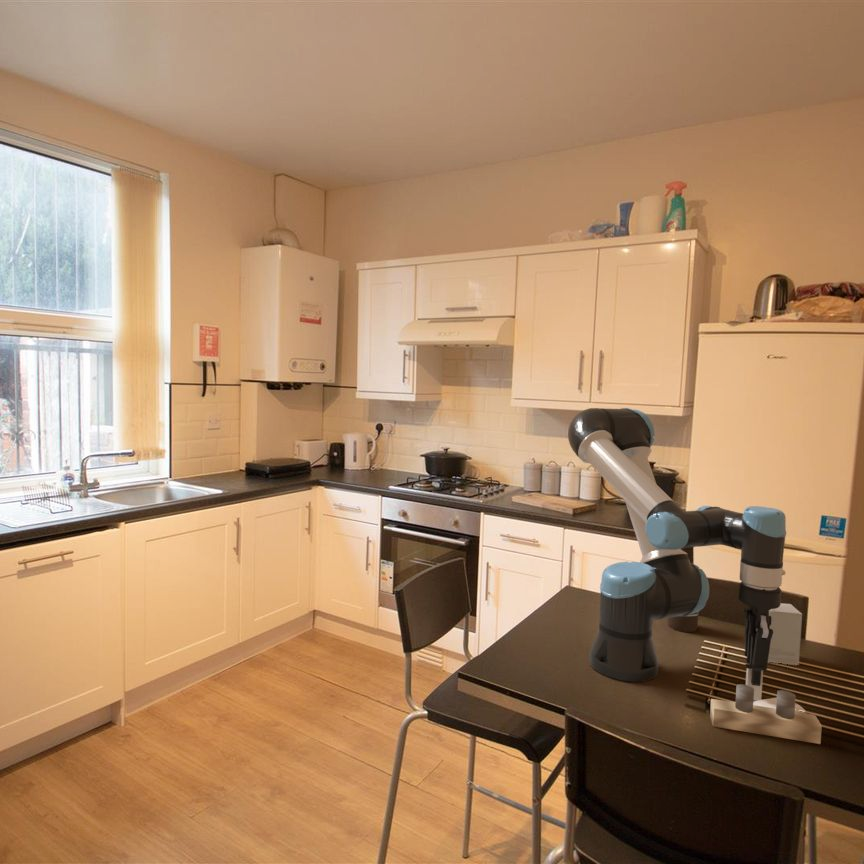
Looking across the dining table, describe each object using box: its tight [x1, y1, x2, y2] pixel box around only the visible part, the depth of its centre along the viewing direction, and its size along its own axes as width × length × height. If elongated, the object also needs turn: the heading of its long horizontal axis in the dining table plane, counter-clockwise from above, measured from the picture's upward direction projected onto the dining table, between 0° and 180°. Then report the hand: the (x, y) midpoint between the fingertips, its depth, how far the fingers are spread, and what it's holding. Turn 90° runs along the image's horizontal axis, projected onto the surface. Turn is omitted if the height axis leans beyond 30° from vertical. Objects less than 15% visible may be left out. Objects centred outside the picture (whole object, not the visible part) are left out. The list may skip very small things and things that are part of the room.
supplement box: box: [768, 602, 803, 666], centre depth 148 cm, size 7×7×13 cm
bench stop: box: [709, 683, 823, 745], centre depth 116 cm, size 18×4×8 cm, turn 74°
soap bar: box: [753, 697, 806, 713], centre depth 122 cm, size 5×9×3 cm, turn 107°
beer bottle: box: [667, 547, 700, 633], centre depth 166 cm, size 8×8×24 cm
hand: (753, 697), depth 125 cm, fingers closed
